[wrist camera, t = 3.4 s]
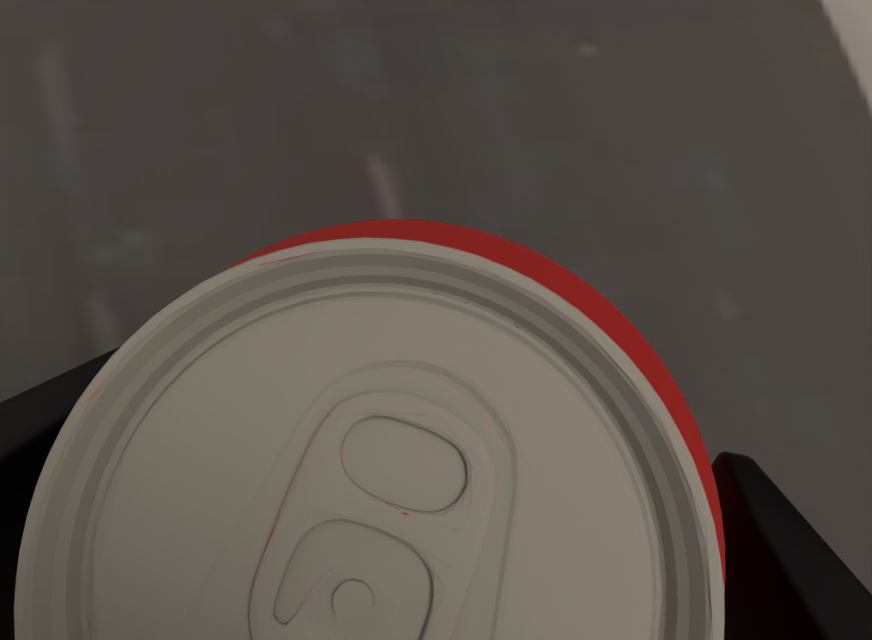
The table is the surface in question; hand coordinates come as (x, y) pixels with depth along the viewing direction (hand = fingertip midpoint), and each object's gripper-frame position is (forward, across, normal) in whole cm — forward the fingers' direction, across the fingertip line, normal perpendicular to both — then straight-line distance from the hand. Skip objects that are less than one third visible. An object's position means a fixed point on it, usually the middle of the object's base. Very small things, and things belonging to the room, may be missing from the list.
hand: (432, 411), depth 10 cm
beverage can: (+4, 0, +6) cm, 7 cm away
